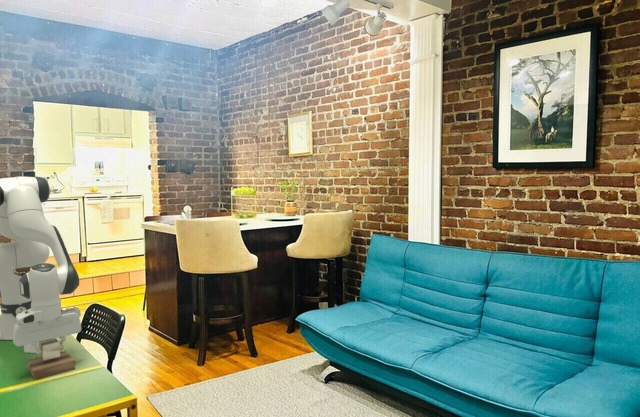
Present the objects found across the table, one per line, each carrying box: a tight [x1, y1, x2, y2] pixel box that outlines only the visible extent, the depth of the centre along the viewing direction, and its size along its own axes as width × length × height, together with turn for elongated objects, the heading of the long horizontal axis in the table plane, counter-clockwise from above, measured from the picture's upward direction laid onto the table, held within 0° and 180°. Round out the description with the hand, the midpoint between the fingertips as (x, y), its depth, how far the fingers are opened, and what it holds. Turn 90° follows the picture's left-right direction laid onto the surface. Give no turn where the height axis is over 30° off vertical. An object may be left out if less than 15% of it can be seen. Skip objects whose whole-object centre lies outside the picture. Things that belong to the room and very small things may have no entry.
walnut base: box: [26, 350, 76, 381], centre depth 164 cm, size 12×12×3 cm
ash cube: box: [39, 338, 61, 360], centre depth 163 cm, size 5×5×5 cm
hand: (49, 351), depth 163 cm, fingers closed on ash cube, 5 cm apart
